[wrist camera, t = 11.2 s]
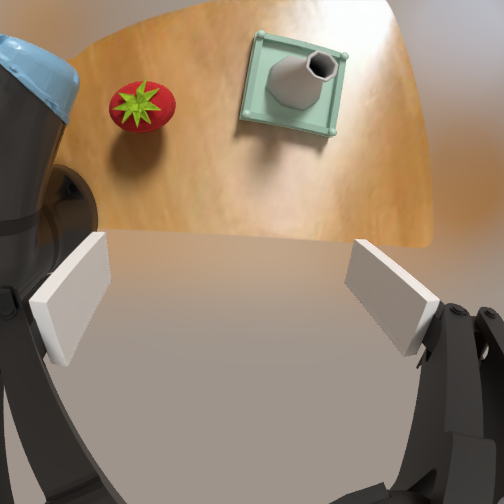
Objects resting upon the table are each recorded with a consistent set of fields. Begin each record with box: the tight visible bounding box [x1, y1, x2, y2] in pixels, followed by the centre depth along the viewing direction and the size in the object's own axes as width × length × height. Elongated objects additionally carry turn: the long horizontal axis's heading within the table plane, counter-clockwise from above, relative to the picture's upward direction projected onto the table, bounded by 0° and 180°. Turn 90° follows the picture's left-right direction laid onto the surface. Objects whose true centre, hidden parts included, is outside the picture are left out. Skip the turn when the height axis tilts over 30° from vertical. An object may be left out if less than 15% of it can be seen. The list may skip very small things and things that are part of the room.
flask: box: [266, 50, 339, 111], centre depth 27 cm, size 7×7×10 cm
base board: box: [239, 30, 349, 138], centre depth 31 cm, size 12×12×3 cm
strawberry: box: [109, 78, 176, 133], centre depth 27 cm, size 6×8×10 cm
